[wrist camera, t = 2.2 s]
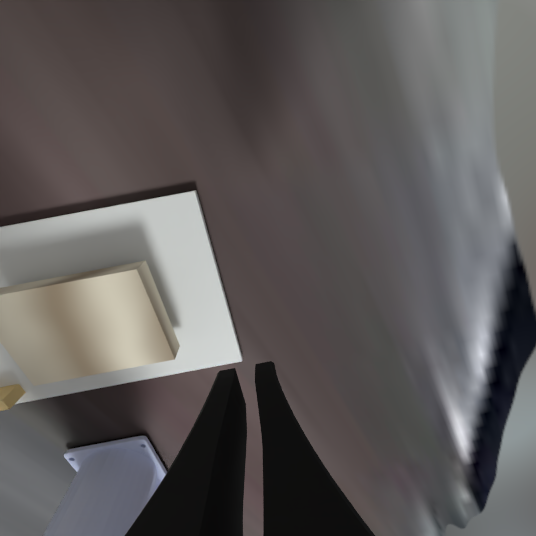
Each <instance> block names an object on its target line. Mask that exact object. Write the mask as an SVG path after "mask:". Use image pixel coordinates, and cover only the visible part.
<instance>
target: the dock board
mask: <svg viewBox="0 0 536 536" xmlns="http://www.w3.org/2000/svg"><path fill="white" fill-rule="evenodd" d="M141 261H146V262H147V265H148V267H149V270H150V272H151V275H152V277H153V280H154V282H155V285H156V287H157V290H158V292H159V295H160V297H161V300H162V302H163V305H164V307H165V310H166V312H167V315H168V317H169V320H170V322H171V325H172V327H173V330H174V332H175V335H176V337H177V340H178V342H179V345H180V347H179V350H178V352H177V355H176V358H175V360H169V361H164V362H159V363H154V364H148V365H143V366H138V367H132V368H127V369H122V370H116V371H111V372H106V373H100V374H95V375H90V376H85V377H79V378H74V379H69V380H63V381H58V382H53V383H47V384H42V385H37V386H33V384H32V383H31V382H30V380H29V379H28V378H27V376H26V375H25V374H24V373H23V371H22V370H21V369H20V367H19V366H18V365H17V363H16V362H15V361H14V360H13V358H12V357H11V356H10V354H9V353H8V352H7V350H6V349H5V348H4V347H3V345H2V344H1V343H0V411H2V410H7V409H10V408H11V407H12V406H13V405H14V404H18V403H23V402H29V401H34V400H39V399H45V398H50V397H55V396H60V395H66V394H71V393H76V392H82V391H87V390H92V389H98V388H103V387H108V386H113V385H119V384H124V383H129V382H135V381H140V380H145V379H151V378H156V377H161V376H166V375H172V374H177V373H182V372H188V371H193V370H198V369H204V368H209V367H214V366H220V365H225V364H230V363H235V362H241V361H242V360H243V357H242V353H241V349H240V346H239V342H238V339H237V335H236V331H235V328H234V324H233V321H232V317H231V313H230V310H229V306H228V302H227V299H226V295H225V292H224V288H223V284H222V281H221V277H220V274H219V270H218V266H217V263H216V259H215V255H214V252H213V248H212V245H211V241H210V237H209V234H208V230H207V227H206V223H205V219H204V216H203V212H202V209H201V205H200V201H199V198H198V194H197V190H194V191H189V192H184V193H178V194H173V195H168V196H162V197H157V198H152V199H146V200H141V201H136V202H130V203H125V204H120V205H114V206H109V207H104V208H98V209H93V210H88V211H82V212H77V213H72V214H66V215H61V216H56V217H50V218H45V219H40V220H34V221H29V222H24V223H18V224H13V225H8V226H2V227H0V288H2V287H8V286H13V285H18V284H24V283H29V282H34V281H39V280H45V279H50V278H55V277H61V276H66V275H71V274H77V273H82V272H87V271H93V270H98V269H103V268H109V267H114V266H119V265H125V264H130V263H135V262H141Z"/></svg>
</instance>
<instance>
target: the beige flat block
mask: <svg viewBox="0 0 536 536" xmlns="http://www.w3.org/2000/svg"><path fill="white" fill-rule="evenodd" d="M0 343H1V344H2V345H3V347H4V348H5V349H6V350H7V352H8V353H9V354H10V356H11V357H12V358H13V360H14V361H15V362H16V363H17V365H18V366H19V367H20V369H21V370H22V371H23V373H24V374H25V375H26V376H27V378H28V379H29V380H30V382H31V383H32V384H33V386H37V385H42V384H47V383H53V382H58V381H63V380H69V379H74V378H79V377H85V376H90V375H95V374H100V373H106V372H111V371H116V370H122V369H127V368H132V367H138V366H143V365H148V364H154V363H159V362H164V361H169V360H175V358H176V355H177V352H178V350H179V347H180V345H179V342H178V340H177V337H176V335H175V332H174V330H173V327H172V325H171V322H170V320H169V317H168V315H167V312H166V310H165V307H164V305H163V302H162V300H161V297H160V295H159V292H158V290H157V287H156V285H155V282H154V280H153V277H152V275H151V272H150V270H149V267H148V265H147V262H146V261H141V262H135V263H130V264H125V265H119V266H114V267H109V268H103V269H98V270H93V271H87V272H82V273H77V274H71V275H66V276H61V277H55V278H50V279H45V280H39V281H34V282H29V283H24V284H18V285H13V286H8V287H2V288H0Z"/></svg>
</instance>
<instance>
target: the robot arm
mask: <svg viewBox="0 0 536 536" xmlns="http://www.w3.org/2000/svg"><path fill="white" fill-rule="evenodd" d="M255 384H256V392H257V400H258V408H259V416H260V424H261V432H262V444H263V496H264V536H375V535H374V534H373V532H372V531H371V530H370V528H369V527H368V526H367V525H366V523H365V522H364V521H363V519H362V518H361V517H360V515H359V514H358V513H357V511H356V510H355V509H354V507H353V506H352V504H351V503H350V502H349V500H348V499H347V498H346V496H345V495H344V493H343V492H342V491H341V489H340V488H339V487H338V485H337V484H336V482H335V481H334V479H333V478H332V476H331V475H330V474H329V472H328V471H327V469H326V468H325V466H324V465H323V463H322V462H321V460H320V458H319V457H318V455H317V454H316V452H315V451H314V449H313V447H312V446H311V444H310V442H309V441H308V439H307V437H306V436H305V434H304V432H303V430H302V429H301V427H300V425H299V423H298V421H297V420H296V418H295V416H294V414H293V412H292V410H291V408H290V406H289V404H288V402H287V400H286V398H285V395H284V393H283V391H282V388H281V386H280V383H279V381H278V378H277V375H276V370H275V365H274V363H273V362H271V361H270V362H265V363H260V364H256V367H255ZM246 440H247V422H246V403H245V400H244V397H243V393H242V390H241V387H240V383H239V380H238V377H237V373H236V370H235V368H233V369H228V370H223V371H219V373H218V374H217V377H216V379H215V381H214V384H213V386H212V388H211V391H210V393H209V395H208V397H207V399H206V402H205V404H204V406H203V408H202V410H201V412H200V414H199V416H198V418H197V420H196V422H195V424H194V426H193V428H192V430H191V432H190V433H189V435H188V437H187V439H186V441H185V442H184V444H183V446H182V448H181V450H180V451H179V453H178V455H177V457H176V458H175V460H174V462H173V463H172V465H171V467H170V468H169V470H168V472H167V471H166V469H165V467H164V466H163V464H162V462H161V460H160V459H159V457H158V455H157V454H156V452H155V450H154V448H153V447H152V445H151V443H150V441H149V440H148V438H147V437H146V436H137V437H131V438H126V439H121V440H115V441H110V442H105V443H99V444H94V445H89V446H84V447H78V448H73V449H69V450H67V451H66V452H65V454H64V457H65V458H66V459H67V461H68V462H69V463H70V464H71V465H72V467H73V468H74V469H75V470H76V471H77V474H76V475H75V477H74V479H73V481H72V483H71V485H70V486H69V488H68V490H67V492H66V494H65V495H64V497H63V499H62V501H61V503H60V505H59V506H58V508H57V510H56V512H55V514H54V515H53V517H52V519H51V521H50V523H49V525H48V526H47V528H46V530H45V532H44V534H43V535H42V536H243V495H244V477H245V459H246Z"/></svg>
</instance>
